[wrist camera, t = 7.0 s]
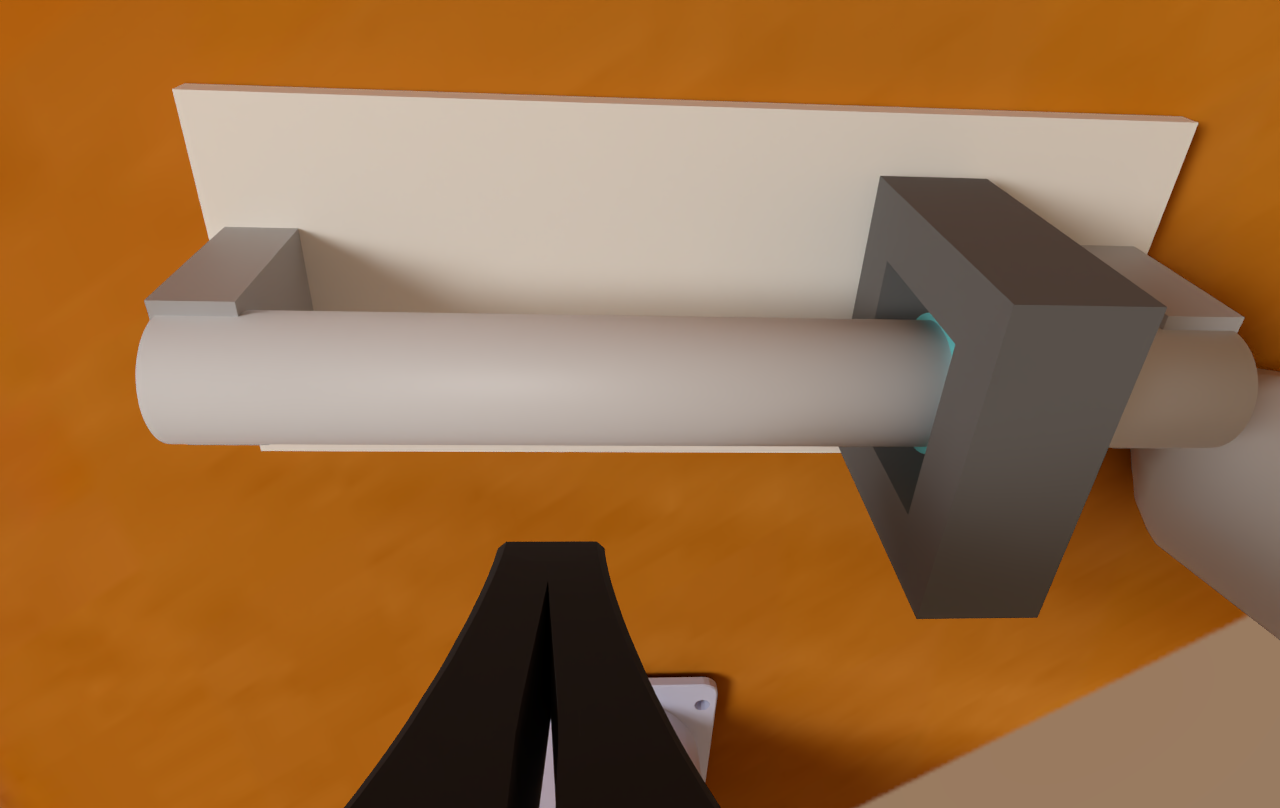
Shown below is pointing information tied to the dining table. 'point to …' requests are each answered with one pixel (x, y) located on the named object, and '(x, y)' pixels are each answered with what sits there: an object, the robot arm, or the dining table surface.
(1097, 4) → the dining table surface
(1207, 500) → the salt shaker
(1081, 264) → the grey square collar
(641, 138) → the pipe rail
